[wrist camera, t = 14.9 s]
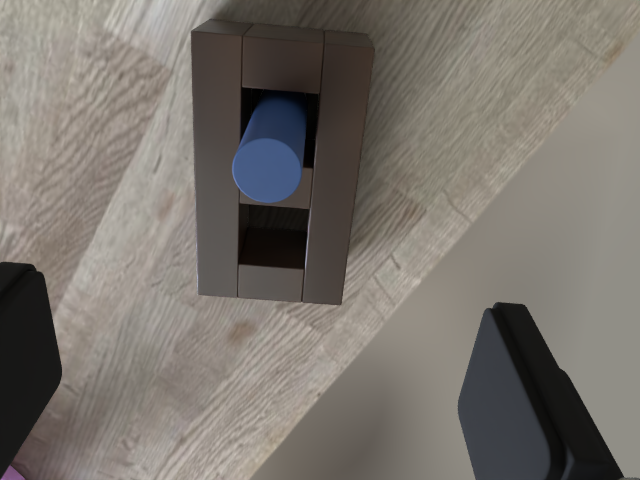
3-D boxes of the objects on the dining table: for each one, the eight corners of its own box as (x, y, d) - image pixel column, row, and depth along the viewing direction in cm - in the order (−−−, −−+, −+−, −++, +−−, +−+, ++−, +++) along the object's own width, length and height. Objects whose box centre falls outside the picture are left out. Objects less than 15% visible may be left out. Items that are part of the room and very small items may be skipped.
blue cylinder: (309, 82, 32) (304, 140, 22) (306, 131, 33) (299, 206, 24) (259, 78, 32) (232, 134, 22) (258, 127, 33) (231, 200, 24)
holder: (367, 33, 31) (375, 47, 26) (339, 264, 38) (341, 305, 34) (209, 18, 30) (190, 30, 26) (211, 254, 38) (197, 295, 33)
